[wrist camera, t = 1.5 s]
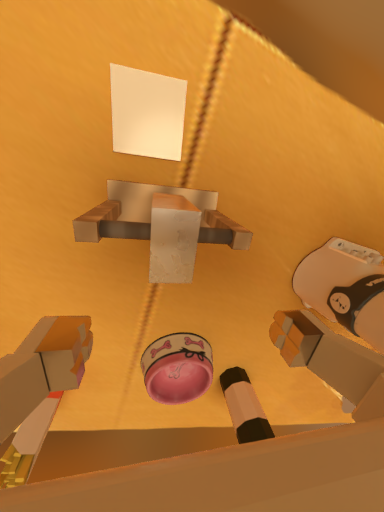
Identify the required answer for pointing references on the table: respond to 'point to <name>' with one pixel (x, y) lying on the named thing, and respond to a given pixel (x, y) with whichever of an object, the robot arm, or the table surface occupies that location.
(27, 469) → the french fries container
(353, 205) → the table surface
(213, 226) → the rail stand
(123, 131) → the ceramic tile
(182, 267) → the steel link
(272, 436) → the wine bottle
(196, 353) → the dog bowl
